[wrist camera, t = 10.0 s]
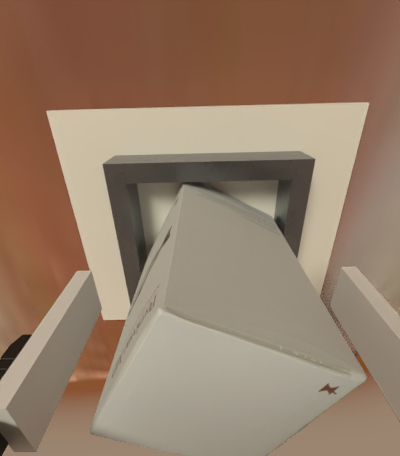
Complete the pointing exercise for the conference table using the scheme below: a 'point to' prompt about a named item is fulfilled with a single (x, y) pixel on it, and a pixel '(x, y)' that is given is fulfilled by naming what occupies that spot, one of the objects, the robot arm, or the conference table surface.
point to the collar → (202, 172)
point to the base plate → (166, 192)
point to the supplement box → (222, 338)
